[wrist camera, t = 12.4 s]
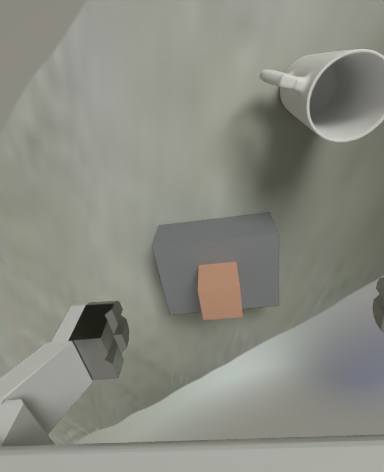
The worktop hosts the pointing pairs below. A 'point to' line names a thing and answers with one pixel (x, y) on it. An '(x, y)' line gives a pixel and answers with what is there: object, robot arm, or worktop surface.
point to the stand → (219, 258)
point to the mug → (334, 92)
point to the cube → (219, 291)
